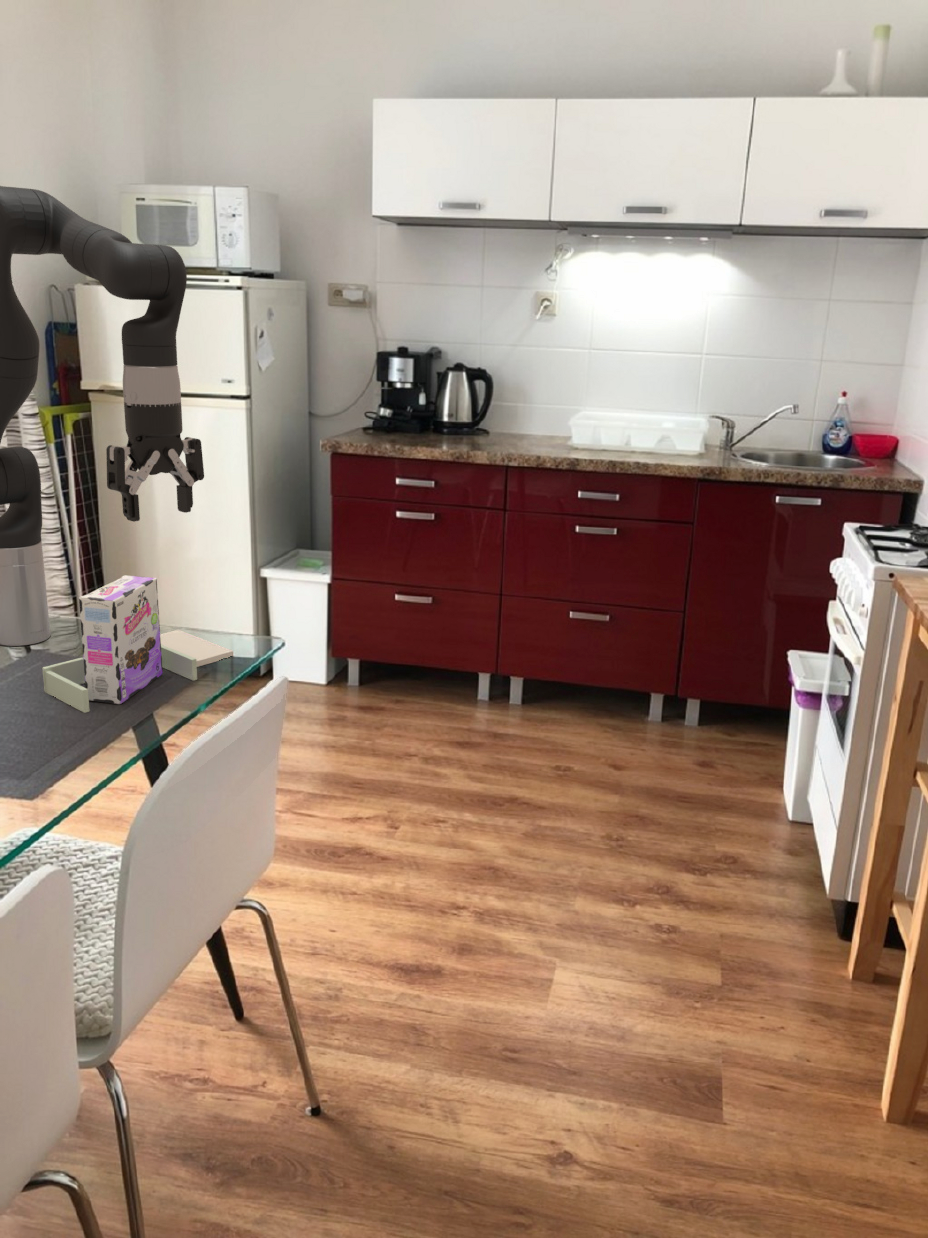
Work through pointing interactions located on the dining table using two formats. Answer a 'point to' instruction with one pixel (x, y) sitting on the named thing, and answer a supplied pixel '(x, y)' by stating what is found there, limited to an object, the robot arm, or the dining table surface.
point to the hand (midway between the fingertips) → (159, 515)
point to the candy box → (120, 638)
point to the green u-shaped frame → (70, 675)
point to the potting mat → (194, 647)
